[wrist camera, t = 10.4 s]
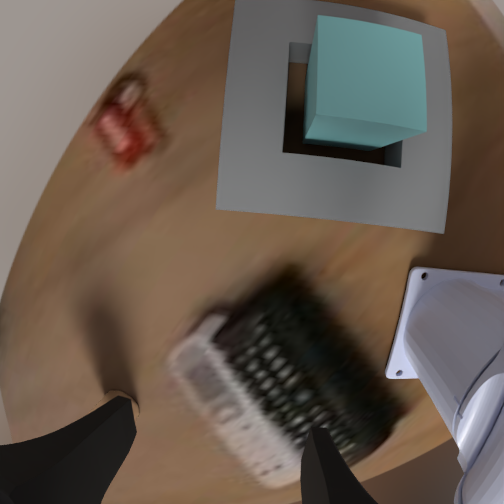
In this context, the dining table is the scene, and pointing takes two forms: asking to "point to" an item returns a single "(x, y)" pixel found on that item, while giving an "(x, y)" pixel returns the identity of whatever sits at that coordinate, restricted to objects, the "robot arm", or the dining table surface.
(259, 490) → the dining table surface
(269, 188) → the socket block
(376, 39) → the peg
